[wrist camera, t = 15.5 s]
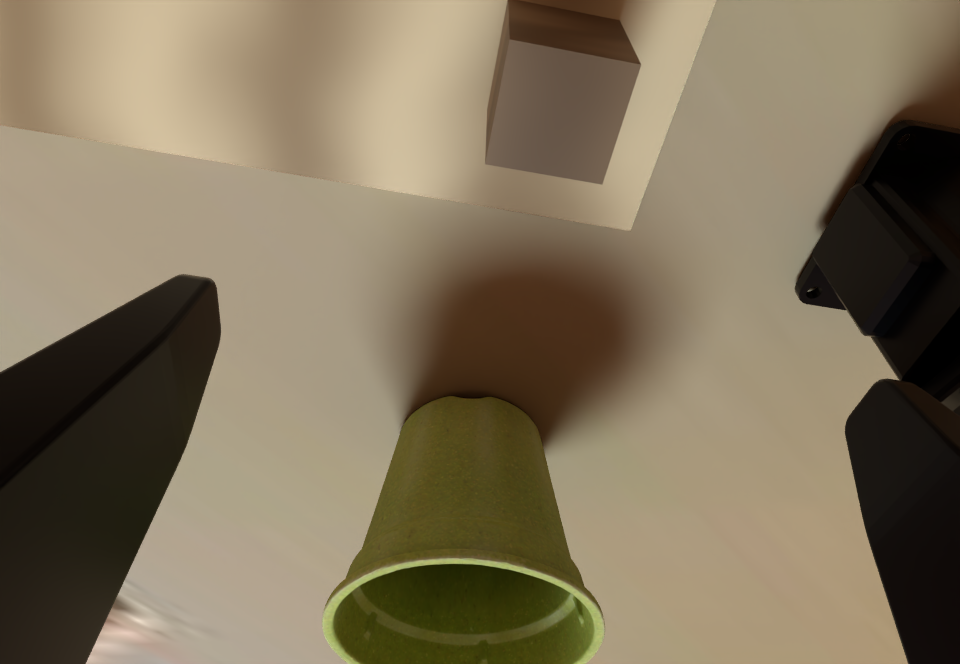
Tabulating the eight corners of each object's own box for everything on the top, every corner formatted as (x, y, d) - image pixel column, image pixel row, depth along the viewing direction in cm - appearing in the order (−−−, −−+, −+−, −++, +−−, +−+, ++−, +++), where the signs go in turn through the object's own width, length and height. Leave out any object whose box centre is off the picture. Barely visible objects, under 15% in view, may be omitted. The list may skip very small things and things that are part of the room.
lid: (741, -105, 17) (805, -73, 13) (626, 215, 22) (649, 295, 19) (-100, -291, 15) (-283, -310, 11) (13, 111, 21) (-85, 179, 17)
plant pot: (465, 320, 25) (451, 521, 18) (625, 440, 29) (662, 640, 22) (320, 439, 29) (266, 635, 23) (476, 528, 33) (470, 716, 27)
